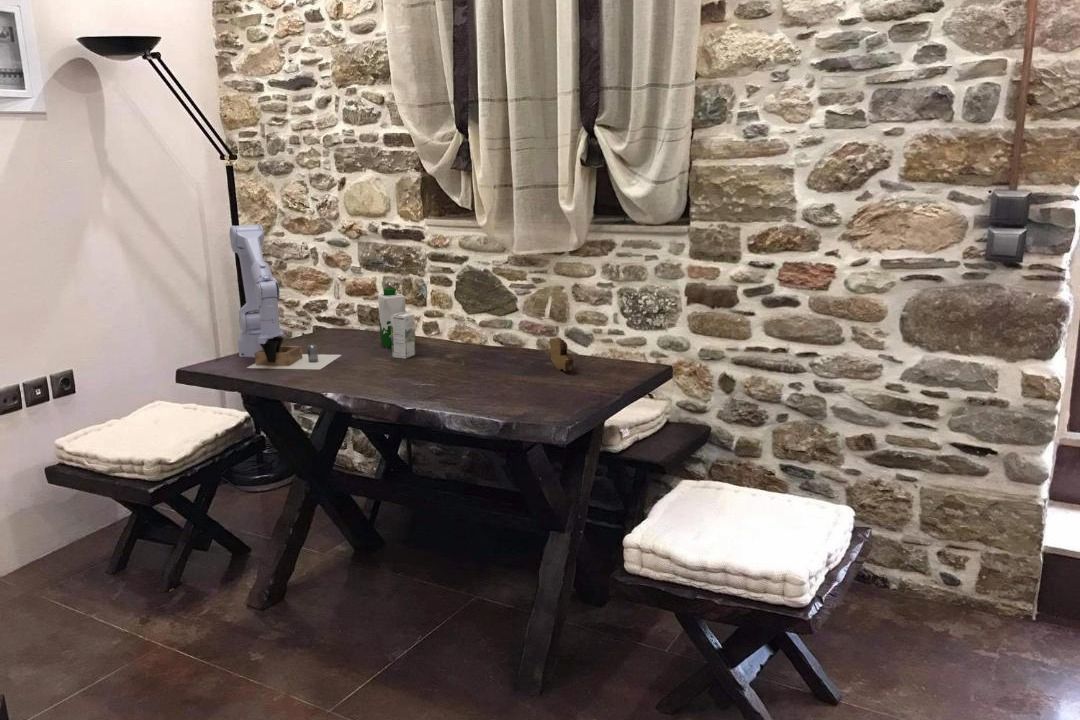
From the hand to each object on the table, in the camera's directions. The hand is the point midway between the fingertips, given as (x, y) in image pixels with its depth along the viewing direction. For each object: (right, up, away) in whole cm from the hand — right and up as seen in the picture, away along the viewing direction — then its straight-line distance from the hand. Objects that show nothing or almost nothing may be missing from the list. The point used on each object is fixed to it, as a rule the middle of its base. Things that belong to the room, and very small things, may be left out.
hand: (273, 361), depth 278 cm
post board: (+6, -1, +6) cm, 8 cm away
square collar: (+1, 0, +5) cm, 5 cm away
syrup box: (+39, +1, +15) cm, 42 cm away
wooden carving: (+91, -3, -4) cm, 91 cm away
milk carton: (+33, +5, +32) cm, 46 cm away
